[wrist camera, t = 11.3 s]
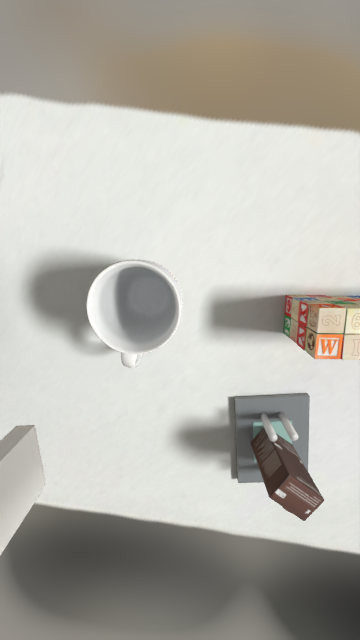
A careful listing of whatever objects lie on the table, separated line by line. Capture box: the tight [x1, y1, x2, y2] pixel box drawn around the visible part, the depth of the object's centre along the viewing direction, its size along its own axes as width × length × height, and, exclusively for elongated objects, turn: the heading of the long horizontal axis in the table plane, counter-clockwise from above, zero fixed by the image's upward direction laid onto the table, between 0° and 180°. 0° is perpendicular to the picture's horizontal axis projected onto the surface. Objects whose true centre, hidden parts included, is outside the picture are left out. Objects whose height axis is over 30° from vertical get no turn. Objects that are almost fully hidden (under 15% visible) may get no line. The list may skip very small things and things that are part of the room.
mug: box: [86, 260, 183, 368], centre depth 39 cm, size 15×11×13 cm
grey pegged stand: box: [234, 393, 309, 483], centre depth 46 cm, size 12×16×7 cm
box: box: [250, 428, 324, 521], centre depth 42 cm, size 6×4×12 cm
